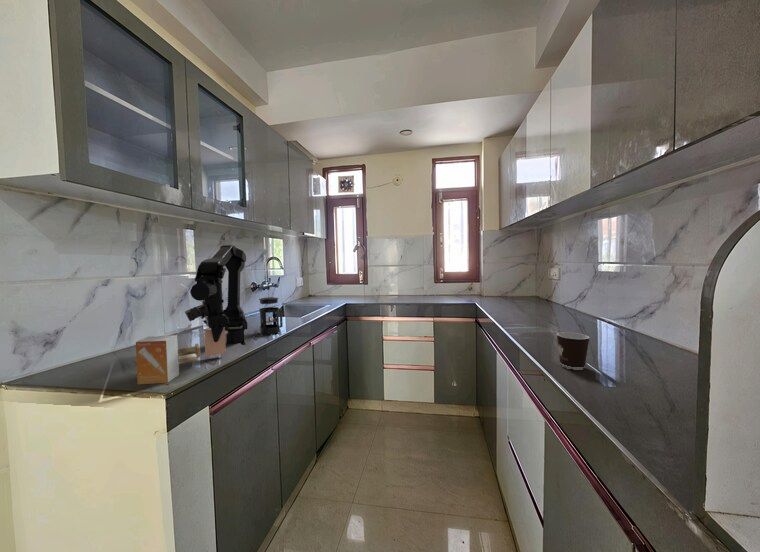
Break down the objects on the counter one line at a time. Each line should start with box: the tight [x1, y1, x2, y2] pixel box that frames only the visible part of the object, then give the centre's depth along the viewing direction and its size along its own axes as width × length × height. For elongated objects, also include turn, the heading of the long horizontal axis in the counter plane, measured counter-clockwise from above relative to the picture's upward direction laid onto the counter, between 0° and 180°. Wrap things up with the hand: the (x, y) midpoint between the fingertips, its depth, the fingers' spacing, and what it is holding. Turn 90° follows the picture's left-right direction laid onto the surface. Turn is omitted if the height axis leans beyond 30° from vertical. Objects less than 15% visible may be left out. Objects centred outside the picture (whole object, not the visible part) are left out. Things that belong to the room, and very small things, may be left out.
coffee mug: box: [556, 331, 590, 367], centre depth 97 cm, size 12×9×10 cm
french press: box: [258, 285, 283, 336], centre depth 148 cm, size 12×9×23 cm
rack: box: [178, 343, 202, 358], centre depth 111 cm, size 9×8×4 cm
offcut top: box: [178, 353, 198, 365], centre depth 105 cm, size 6×4×2 cm
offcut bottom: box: [179, 358, 199, 366], centre depth 105 cm, size 6×5×2 cm
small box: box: [135, 334, 180, 386], centre depth 89 cm, size 8×6×13 cm
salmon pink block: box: [203, 327, 227, 357], centre depth 108 cm, size 6×3×9 cm, turn 127°
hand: (215, 340), depth 108 cm, fingers closed on salmon pink block, 3 cm apart
